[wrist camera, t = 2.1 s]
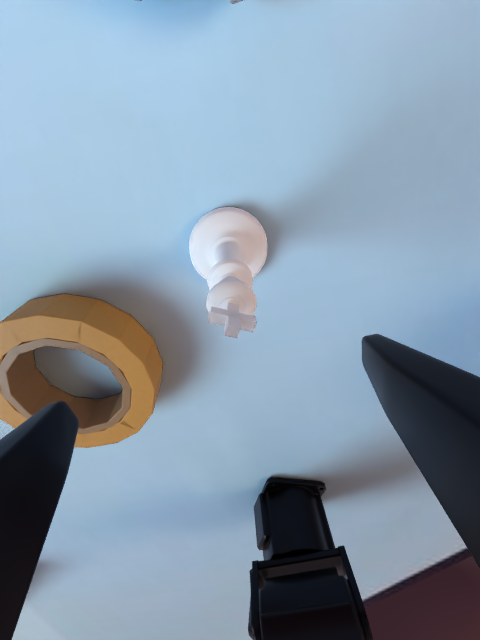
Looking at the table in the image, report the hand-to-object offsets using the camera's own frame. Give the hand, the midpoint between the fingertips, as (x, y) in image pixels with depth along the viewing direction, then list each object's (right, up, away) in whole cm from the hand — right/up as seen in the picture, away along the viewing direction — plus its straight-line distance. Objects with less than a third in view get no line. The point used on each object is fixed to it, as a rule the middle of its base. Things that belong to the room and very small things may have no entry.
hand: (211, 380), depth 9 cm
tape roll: (-11, -2, +14) cm, 18 cm away
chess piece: (0, +6, +10) cm, 12 cm away
